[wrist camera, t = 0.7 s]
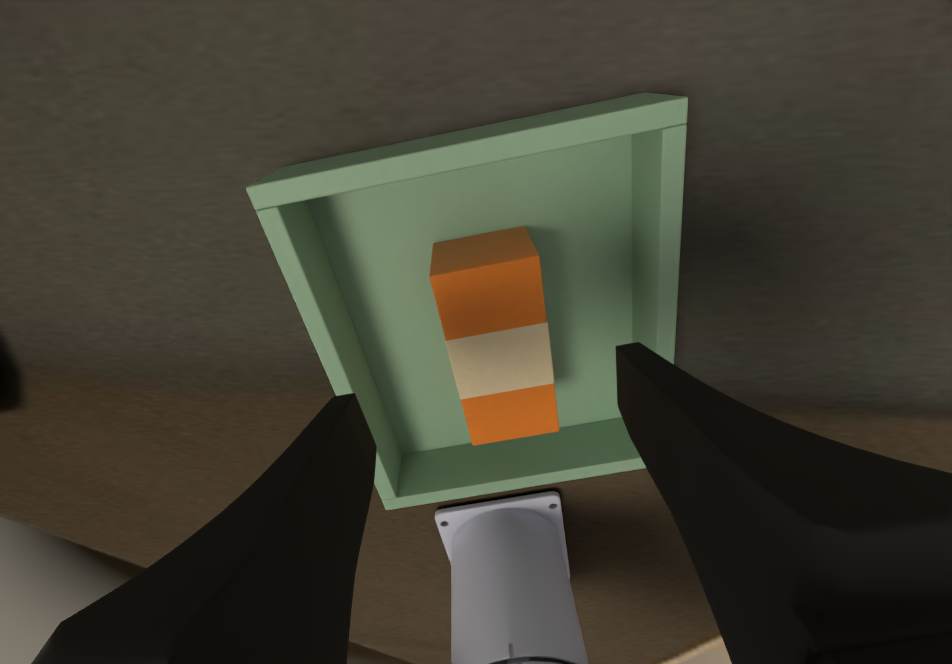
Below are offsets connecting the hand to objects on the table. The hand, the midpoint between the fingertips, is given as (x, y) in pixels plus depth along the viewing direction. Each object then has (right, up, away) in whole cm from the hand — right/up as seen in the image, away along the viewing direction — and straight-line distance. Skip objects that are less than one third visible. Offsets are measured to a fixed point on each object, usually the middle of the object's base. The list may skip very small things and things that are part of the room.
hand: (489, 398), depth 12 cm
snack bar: (0, +2, +9) cm, 9 cm away
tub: (0, +3, +9) cm, 10 cm away
